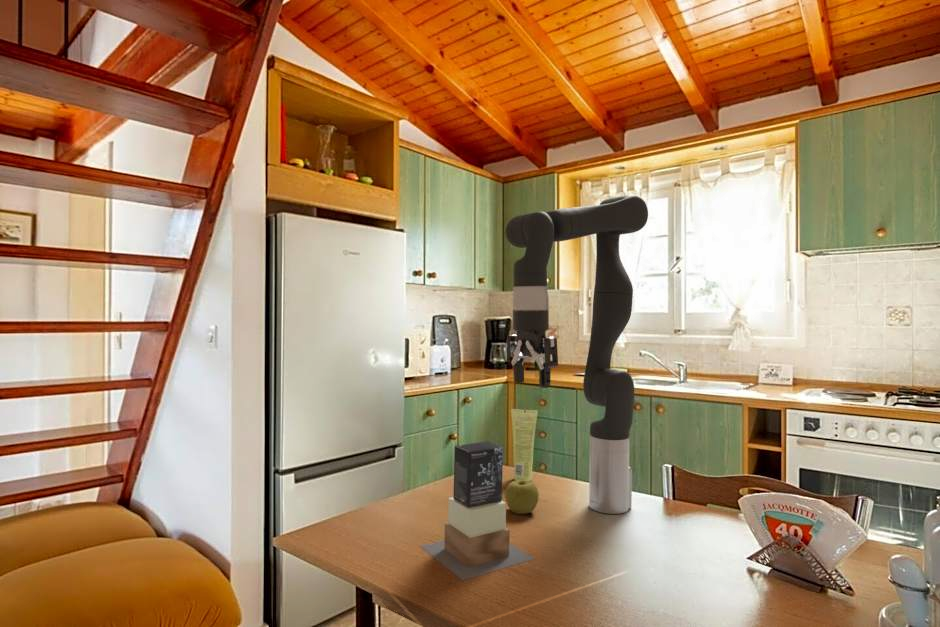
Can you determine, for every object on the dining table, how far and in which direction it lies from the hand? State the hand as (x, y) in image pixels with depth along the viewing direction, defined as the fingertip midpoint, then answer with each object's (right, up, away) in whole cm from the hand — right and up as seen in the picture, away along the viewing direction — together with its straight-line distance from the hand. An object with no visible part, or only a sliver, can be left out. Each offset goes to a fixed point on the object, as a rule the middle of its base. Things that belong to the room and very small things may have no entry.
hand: (531, 385), depth 116 cm
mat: (-12, -31, -10) cm, 35 cm away
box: (-11, -21, -11) cm, 26 cm away
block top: (-12, -26, -10) cm, 30 cm away
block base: (-12, -31, -10) cm, 35 cm away
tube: (+2, -31, +37) cm, 49 cm away
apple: (-1, -32, +12) cm, 34 cm away
